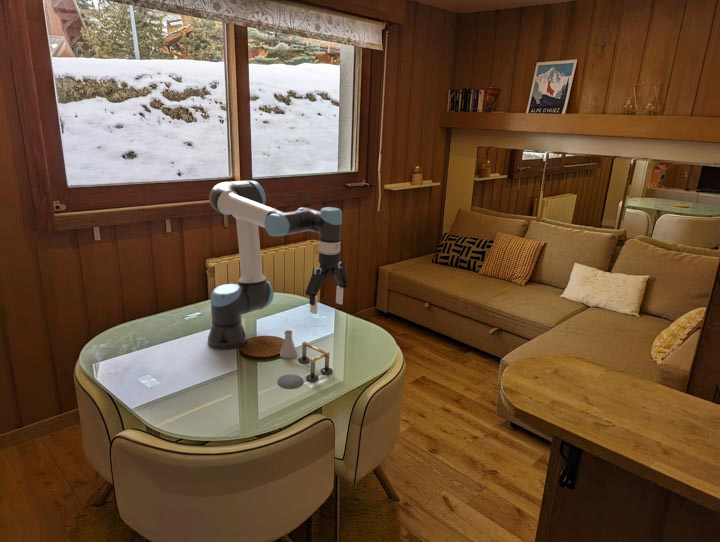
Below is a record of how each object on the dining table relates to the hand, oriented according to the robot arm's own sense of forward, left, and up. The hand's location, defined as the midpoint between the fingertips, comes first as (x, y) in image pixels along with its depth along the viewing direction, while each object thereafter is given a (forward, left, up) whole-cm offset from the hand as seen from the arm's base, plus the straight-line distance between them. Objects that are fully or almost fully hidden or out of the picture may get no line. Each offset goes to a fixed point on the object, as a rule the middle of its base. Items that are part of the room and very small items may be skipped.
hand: (326, 308), depth 180 cm
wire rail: (-3, -5, -24) cm, 25 cm away
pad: (-1, -16, -24) cm, 29 cm away
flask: (-17, -3, -25) cm, 30 cm away
